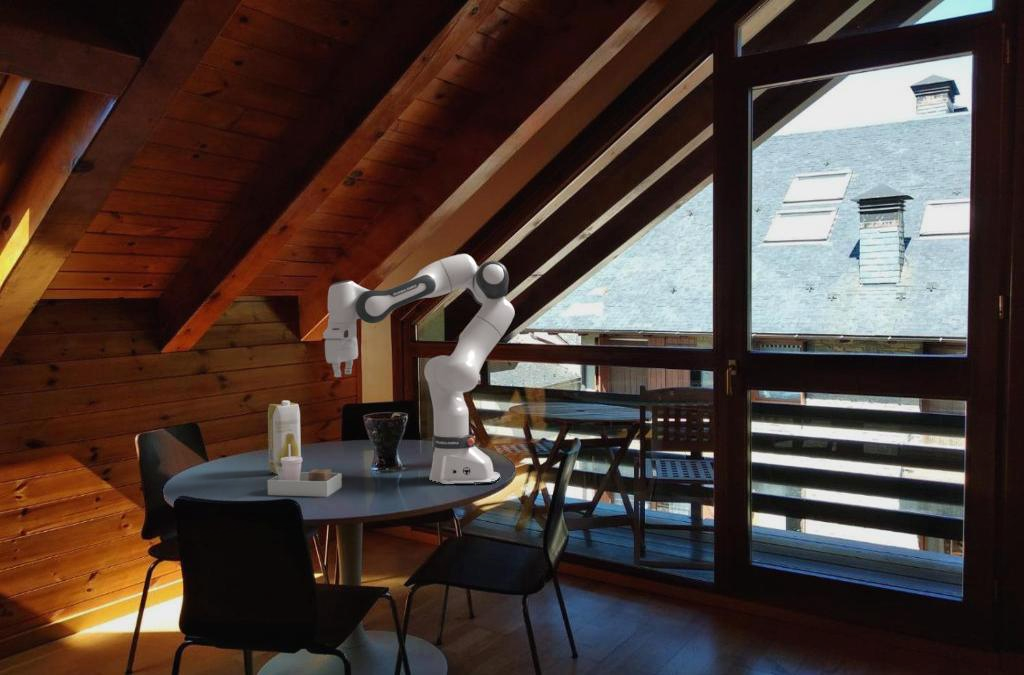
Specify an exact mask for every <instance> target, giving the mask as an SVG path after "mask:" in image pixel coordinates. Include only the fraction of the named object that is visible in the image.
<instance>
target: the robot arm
mask: <svg viewBox="0 0 1024 675" xmlns="http://www.w3.org/2000/svg"><path fill="white" fill-rule="evenodd" d="M509 281H510V278H509V272H508V270H507V268H506V266H505V265H504V264H502V263H501V262H499V261H494V260H491V261H490V260H488V261H486V262H484V263H482V264H481V265H480V266H478V265H477V262H476V261H475V259H474V257H472V256H471V255H469V254H468V253H459V254H456V255H455V254H454V255H451V256H448V257H445V258H441V259H439V260H436V261H434V262H431V263H430V264H428V265H425V267H423V268H421V269H420V270H419V271H418V273H417V274H416V275H415V276H414V277H412V278H411V279H409V281H408V280H407V281H405V282H404V283H401V284H399V285H397V286H396V285H395V286H393V287H391V288H388V289H385V290H378V289H376V290H375V289H373V290H372V289H371V290H370V289H368V288H365V287H363V286H361V285H360V284H357V283H356V282H354V281H353V280H349V279H348V280H342V281H336V282H334V283H332V284H331V285H330V286H329V289H328V294H327V311H328V320H327V327H326V329H325V330H324V331H323V333H322V334H323V335H322V337H323V339H325V341H324V351H325V352H324V354H325V360H326V363H327V364H332V369H333V373H334V376H333V377H335V378H341V377H342V371H341V363H343V362H345V363H344V364H345V368H344V374H345V375H351V374H352V367H353V363H354V360H356V359H358V357H359V345H358V338H357V320H359V319H360V320H362V321H363V322H365V323H368V324H377V323H378V324H379V323H381V322H382V321H383V320H385V318H387V317H388V316H389V315H390V314H391V313H392V311H394V310H395V309H398V308H400V307H402V306H405V305H407V304H409V303H412V302H414V301H417V300H421V299H426V298H435V297H440V296H444V295H447V294H449V293H451V292H454V291H456V290H459V289H463V288H465V289H466V292H467V293H468V294H469V295H470V296H471V297H472V298H473V300H474V301H475V302H476V303H477V304H479V305H480V306H481V307H480V309H479V310H478V312H477V313H476V314H475V315H474V317H472V319H471V320H470V322H469V323H468V324H467V325H466V326H465V327H464V329H463V331H462V332H460V334H459V335H458V336H459V337H458V342H457V343H456V344H457V345H456V347H454V348H455V349H454V350H453V352H452V353H451V355H443V354H442V355H437V356H435V357H432V358H431V359H429V360H428V361H427V363H426V364H425V366H424V370H423V371H424V372H423V373H424V374H423V375H424V378H425V380H426V382H427V385H428V389H429V394H430V398H431V403H432V411H433V434H432V438H431V443H432V444H431V446H432V448H431V449H432V452H433V453H432V454H433V456H432V464H431V468H430V475H429V480H430V481H431V480H432V481H431V482H434V481H436V482H435V483H438V482H440V483H442V484H454V483H474V482H491V481H495V480H497V479H498V478H499V477H500V478H501V474H500V472H497V471H494V465H493V461H492V459H491V458H490V456H489V455H487V454H486V453H485V452H483V451H482V450H480V449H479V447H477V446H475V445H476V436H475V435H472V434H470V428H469V427H470V426H469V423H470V421H469V417H470V416H469V414H470V413H469V407H468V406H467V404H466V402H465V397H464V393H467V392H471V391H472V390H473V389H475V388H476V386H477V385H478V383H479V380H480V372H481V369H482V367H483V365H484V363H485V362H486V359H487V357H488V356H489V355H490V353H491V352H492V350H493V349H494V348H495V347H496V346H497V344H498V342H499V341H500V340H501V338H502V337H503V336H504V335H505V334H506V331H507V330H508V328H509V327H510V325H511V323H512V322H513V319H514V318H515V315H516V314H515V308H514V306H513V304H512V303H511V302H510V301H509V300H507V299H506V295H507V294H508V288H509V283H510V282H509ZM440 483H439V484H440ZM442 484H441V485H442Z"/></svg>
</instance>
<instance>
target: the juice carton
mask: <svg viewBox="0 0 1024 675" xmlns="http://www.w3.org/2000/svg"><path fill="white" fill-rule="evenodd" d="M299 406H300V405H299V404H298V403H295V402H291V401H290V400H281V403H278V404H277V403H270V404H269V405H268V412H267V431H268V432H267V435H268V436H267V438H268V465H269V470H270V472H271V473H272V472H273V473H272V474H274V473H275V475H277V474H278V475H279V474H281V473H283V469H282V463H281V458H284V457H289V451H288V444H290V454H291V456H298V457H302V455H301V454H302V452H301V449H302V448H301V447H302V446H301V439H302V438H301V410H300V407H299Z"/></svg>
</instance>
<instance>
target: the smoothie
mask: <svg viewBox="0 0 1024 675" xmlns="http://www.w3.org/2000/svg"><path fill="white" fill-rule="evenodd" d="M288 451H289V457H284V458H281V463H282V469H283V476H284V480H286V481H300V472H302V462H304V461H303V457H302V456H301V457H298V456H291V454H290V444H288Z"/></svg>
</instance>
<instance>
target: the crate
mask: <svg viewBox="0 0 1024 675" xmlns="http://www.w3.org/2000/svg"><path fill="white" fill-rule="evenodd" d="M309 472H310V471H301V472H300V481H286V480H284V476H283V473H281V474H279V475H277V474H276V475H275V476H273V477H272V478H270V479H267V495H268V496H294V497H322V498H324V497H326V498H328V497H330V496H331V495H332V494H334V493H336V492H337V491H338V490H340V489H342V486H343V485H342V484H343V483H342V481H343V480H342V478H343V476H342V472H331V479H329V480H328V481H326V482H322V481H308V473H309Z"/></svg>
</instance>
